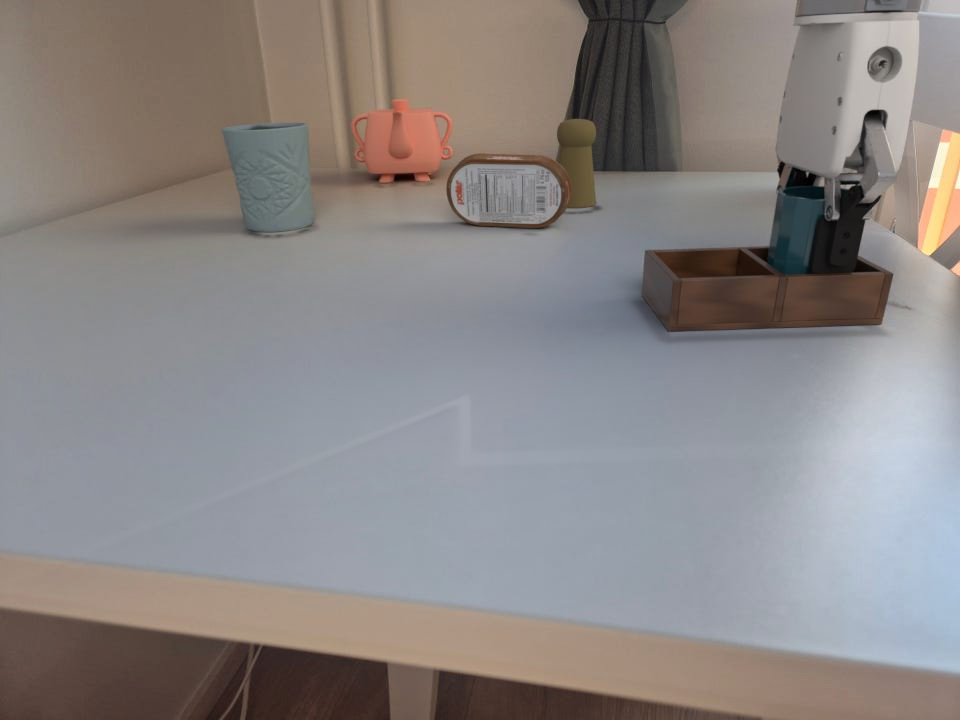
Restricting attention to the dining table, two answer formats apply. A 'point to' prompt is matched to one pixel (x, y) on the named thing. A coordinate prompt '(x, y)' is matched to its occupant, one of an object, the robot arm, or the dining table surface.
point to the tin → (509, 190)
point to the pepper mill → (578, 159)
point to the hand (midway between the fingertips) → (809, 257)
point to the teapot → (402, 141)
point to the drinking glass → (272, 174)
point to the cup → (795, 228)
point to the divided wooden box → (757, 291)
